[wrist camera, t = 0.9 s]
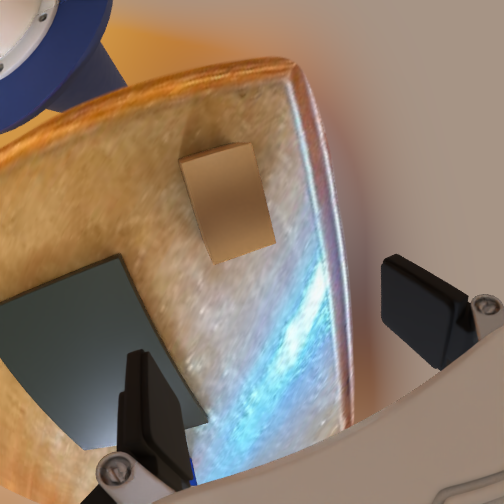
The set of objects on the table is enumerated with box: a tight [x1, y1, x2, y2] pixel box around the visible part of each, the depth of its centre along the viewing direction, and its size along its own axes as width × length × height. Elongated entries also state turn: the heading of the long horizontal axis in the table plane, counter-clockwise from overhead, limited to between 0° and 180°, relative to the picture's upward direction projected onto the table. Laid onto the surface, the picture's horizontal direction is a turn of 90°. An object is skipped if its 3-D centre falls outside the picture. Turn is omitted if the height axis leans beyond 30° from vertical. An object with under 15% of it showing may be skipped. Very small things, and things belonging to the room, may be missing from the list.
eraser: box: [178, 142, 276, 265], centre depth 21 cm, size 7×4×5 cm, turn 15°
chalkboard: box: [0, 254, 208, 450], centre depth 25 cm, size 22×18×1 cm
